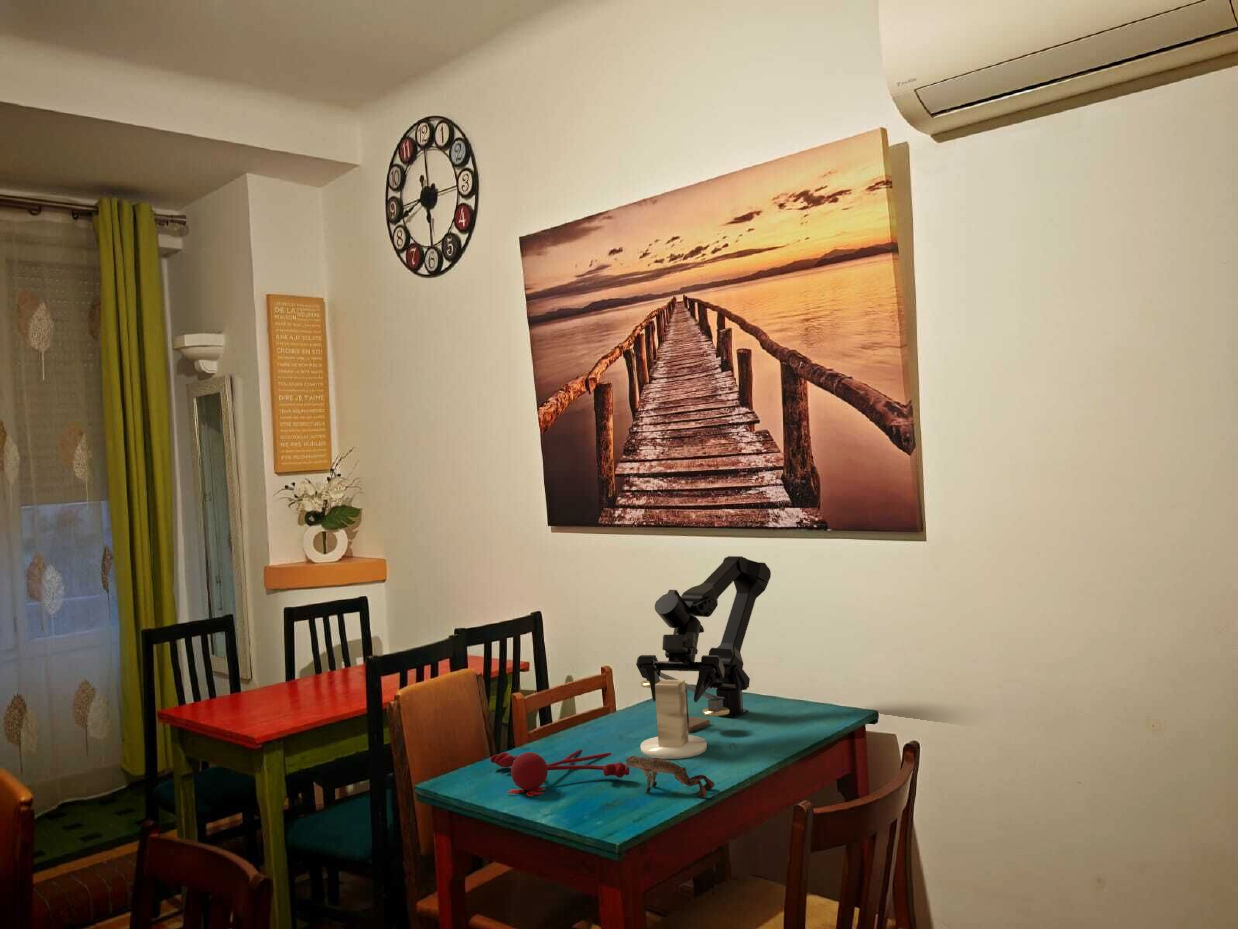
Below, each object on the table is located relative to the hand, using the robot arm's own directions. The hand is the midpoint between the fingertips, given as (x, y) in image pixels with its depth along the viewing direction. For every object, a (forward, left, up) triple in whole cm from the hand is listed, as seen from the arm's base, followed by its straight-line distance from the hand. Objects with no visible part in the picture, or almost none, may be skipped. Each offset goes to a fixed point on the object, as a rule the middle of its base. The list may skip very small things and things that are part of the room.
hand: (674, 701), depth 219 cm
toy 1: (+26, -9, -10) cm, 29 cm away
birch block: (+2, +1, -9) cm, 9 cm away
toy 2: (+24, +16, -10) cm, 31 cm away
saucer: (+2, +1, -10) cm, 10 cm away
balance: (-14, -8, -10) cm, 19 cm away
